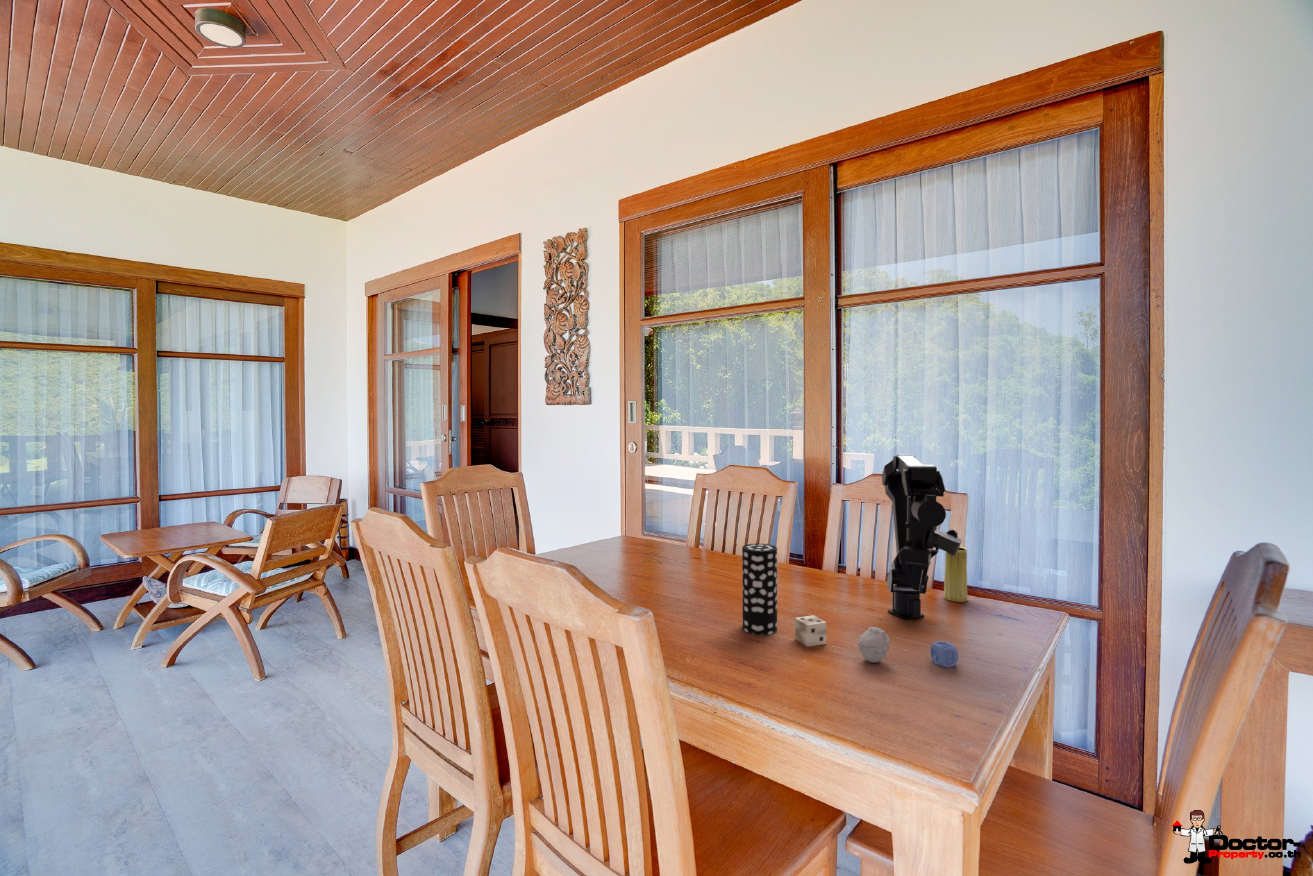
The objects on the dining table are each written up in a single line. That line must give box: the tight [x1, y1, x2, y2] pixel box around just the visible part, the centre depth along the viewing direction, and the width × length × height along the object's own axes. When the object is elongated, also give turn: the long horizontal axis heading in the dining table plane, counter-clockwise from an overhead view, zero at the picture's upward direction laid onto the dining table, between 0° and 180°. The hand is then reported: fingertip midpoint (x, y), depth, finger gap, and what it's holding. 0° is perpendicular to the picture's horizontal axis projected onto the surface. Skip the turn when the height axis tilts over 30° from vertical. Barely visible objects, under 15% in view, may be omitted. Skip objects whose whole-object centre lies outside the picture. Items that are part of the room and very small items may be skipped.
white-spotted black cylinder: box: [741, 543, 778, 636], centre depth 142 cm, size 8×8×20 cm
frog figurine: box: [857, 626, 891, 664], centre depth 123 cm, size 6×7×7 cm
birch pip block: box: [794, 614, 827, 648], centre depth 134 cm, size 5×5×5 cm
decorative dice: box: [929, 640, 960, 668], centre depth 122 cm, size 4×4×4 cm
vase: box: [942, 546, 969, 603], centre depth 163 cm, size 6×6×14 cm
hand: (919, 585), depth 136 cm, fingers open, 9 cm apart
